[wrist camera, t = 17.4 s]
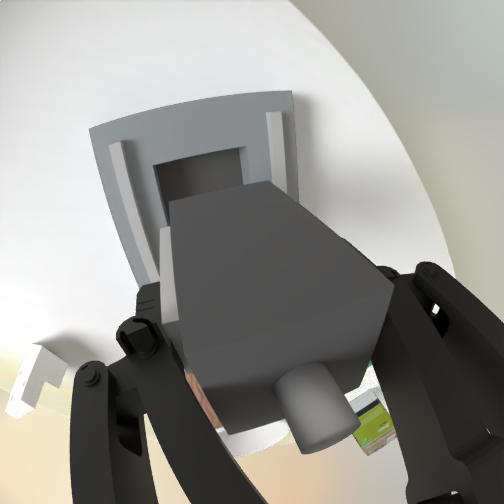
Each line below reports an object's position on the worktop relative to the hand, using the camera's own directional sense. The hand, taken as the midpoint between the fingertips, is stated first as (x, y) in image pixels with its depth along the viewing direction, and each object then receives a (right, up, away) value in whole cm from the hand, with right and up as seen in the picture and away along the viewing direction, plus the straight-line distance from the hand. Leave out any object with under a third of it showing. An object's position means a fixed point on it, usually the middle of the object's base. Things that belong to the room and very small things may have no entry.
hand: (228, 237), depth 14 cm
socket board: (-2, +1, +9) cm, 9 cm away
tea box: (+29, -42, +46) cm, 69 cm away
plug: (0, 0, 0) cm, 0 cm away
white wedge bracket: (-24, -13, +10) cm, 29 cm away
